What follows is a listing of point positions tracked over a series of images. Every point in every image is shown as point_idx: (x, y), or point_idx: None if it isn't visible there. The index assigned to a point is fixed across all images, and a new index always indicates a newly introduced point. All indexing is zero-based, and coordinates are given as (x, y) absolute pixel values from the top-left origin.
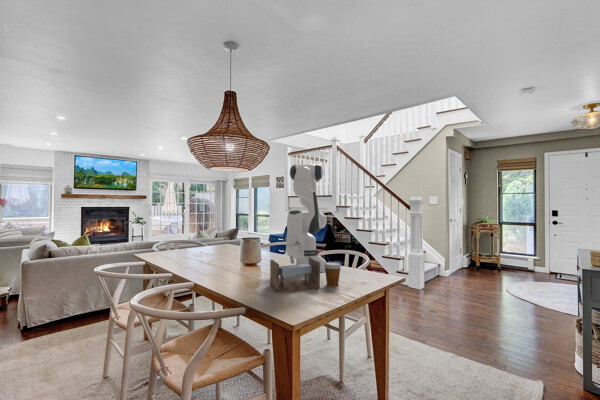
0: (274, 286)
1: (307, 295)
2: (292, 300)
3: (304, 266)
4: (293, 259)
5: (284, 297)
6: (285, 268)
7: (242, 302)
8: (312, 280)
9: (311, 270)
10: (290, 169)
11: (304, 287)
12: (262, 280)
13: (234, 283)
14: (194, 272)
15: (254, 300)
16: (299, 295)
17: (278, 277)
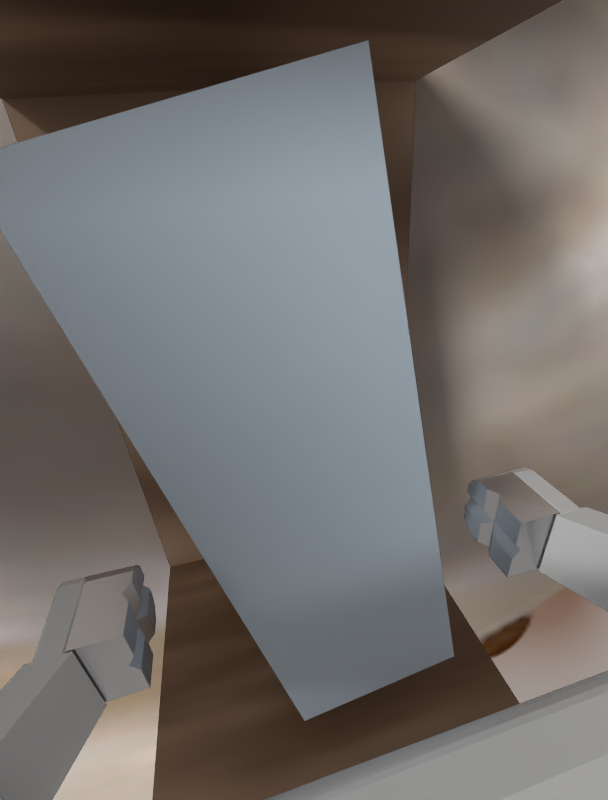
0: None
1: (557, 296)
2: (586, 421)
3: (407, 325)
4: (59, 674)
5: (512, 465)
6: (440, 632)
7: (483, 634)
8: (206, 82)
9: (131, 17)
10: None
11: (405, 286)
12: (10, 631)
13: (118, 748)
14: None
15: (482, 598)
16: (526, 362)
17: (450, 600)
